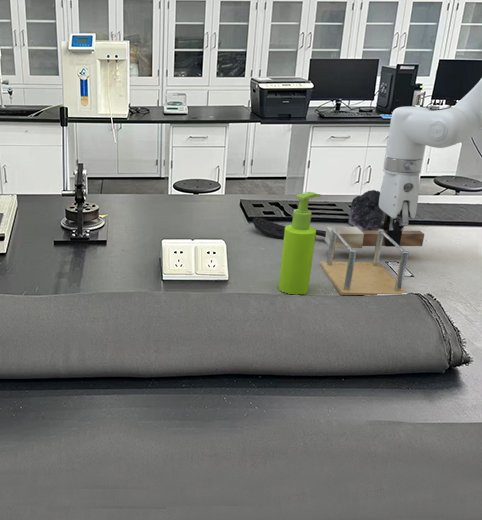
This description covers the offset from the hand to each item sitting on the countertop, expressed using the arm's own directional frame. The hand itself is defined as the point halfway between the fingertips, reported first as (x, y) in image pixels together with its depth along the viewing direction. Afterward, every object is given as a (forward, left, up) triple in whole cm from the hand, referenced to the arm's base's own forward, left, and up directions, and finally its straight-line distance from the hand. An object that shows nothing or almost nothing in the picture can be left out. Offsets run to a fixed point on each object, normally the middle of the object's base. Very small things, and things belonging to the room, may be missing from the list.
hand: (389, 243), depth 124 cm
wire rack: (+10, +14, -3) cm, 17 cm away
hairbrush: (+17, -12, -4) cm, 22 cm away
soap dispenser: (+25, +19, -4) cm, 32 cm away
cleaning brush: (+3, 0, 0) cm, 3 cm away
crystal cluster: (-5, -22, -4) cm, 23 cm away
